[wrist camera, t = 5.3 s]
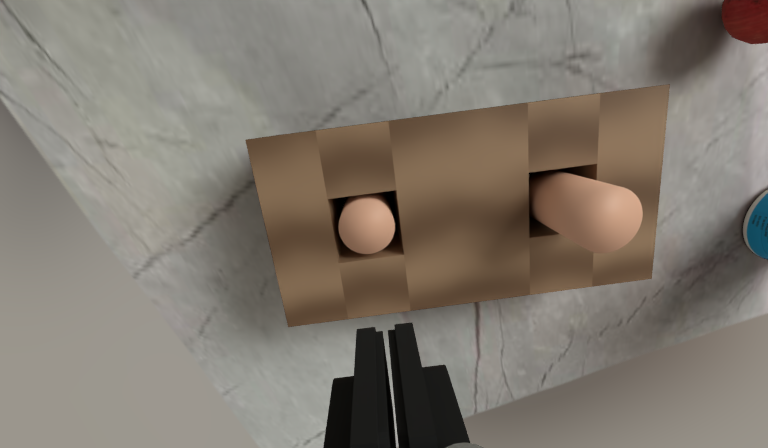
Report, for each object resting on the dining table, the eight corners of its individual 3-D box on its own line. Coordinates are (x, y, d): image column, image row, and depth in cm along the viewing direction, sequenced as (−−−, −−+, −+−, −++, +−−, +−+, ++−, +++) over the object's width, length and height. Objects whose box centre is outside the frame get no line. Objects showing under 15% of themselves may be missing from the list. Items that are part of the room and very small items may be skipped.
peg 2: (519, 172, 27) (574, 191, 20) (571, 165, 27) (645, 181, 20) (520, 222, 28) (572, 257, 21) (570, 216, 28) (640, 248, 21)
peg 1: (342, 185, 32) (334, 204, 25) (386, 179, 32) (391, 196, 25) (348, 227, 33) (343, 257, 26) (391, 222, 33) (397, 250, 26)
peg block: (276, 135, 31) (245, 139, 23) (595, 93, 31) (669, 84, 23) (306, 281, 35) (288, 327, 27) (589, 244, 35) (651, 278, 27)
